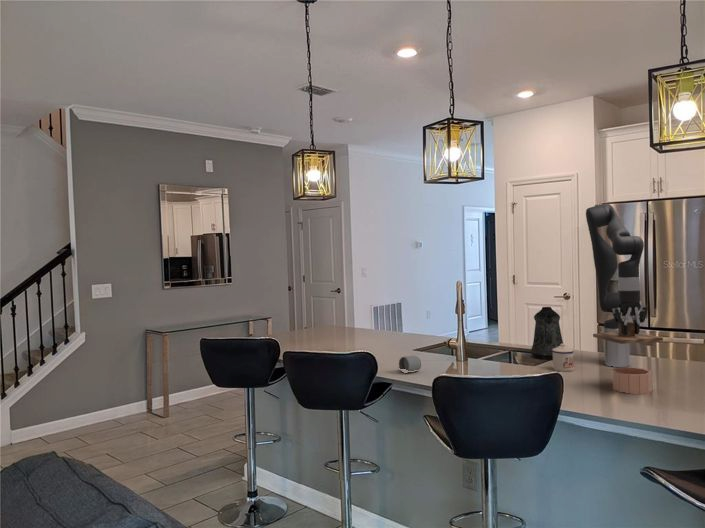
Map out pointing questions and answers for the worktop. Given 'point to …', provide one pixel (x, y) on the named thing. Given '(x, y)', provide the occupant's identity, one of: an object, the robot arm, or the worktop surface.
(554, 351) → the teacup with lid
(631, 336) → the lid
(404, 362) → the ceramic mug
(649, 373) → the bowl
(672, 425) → the worktop surface
